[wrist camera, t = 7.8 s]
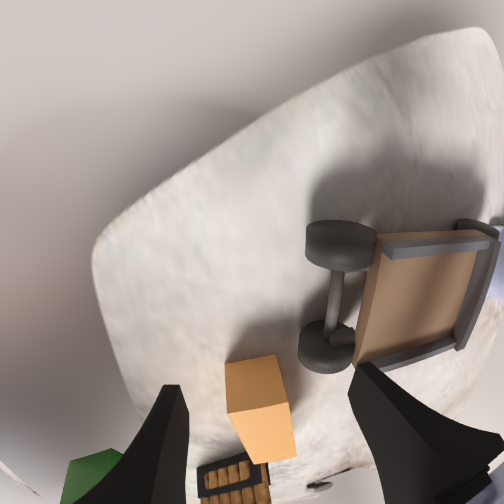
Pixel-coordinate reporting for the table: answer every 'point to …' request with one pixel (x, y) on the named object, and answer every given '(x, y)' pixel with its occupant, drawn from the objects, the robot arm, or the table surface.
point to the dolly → (398, 292)
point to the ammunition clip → (234, 481)
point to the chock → (260, 408)
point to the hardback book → (87, 473)
